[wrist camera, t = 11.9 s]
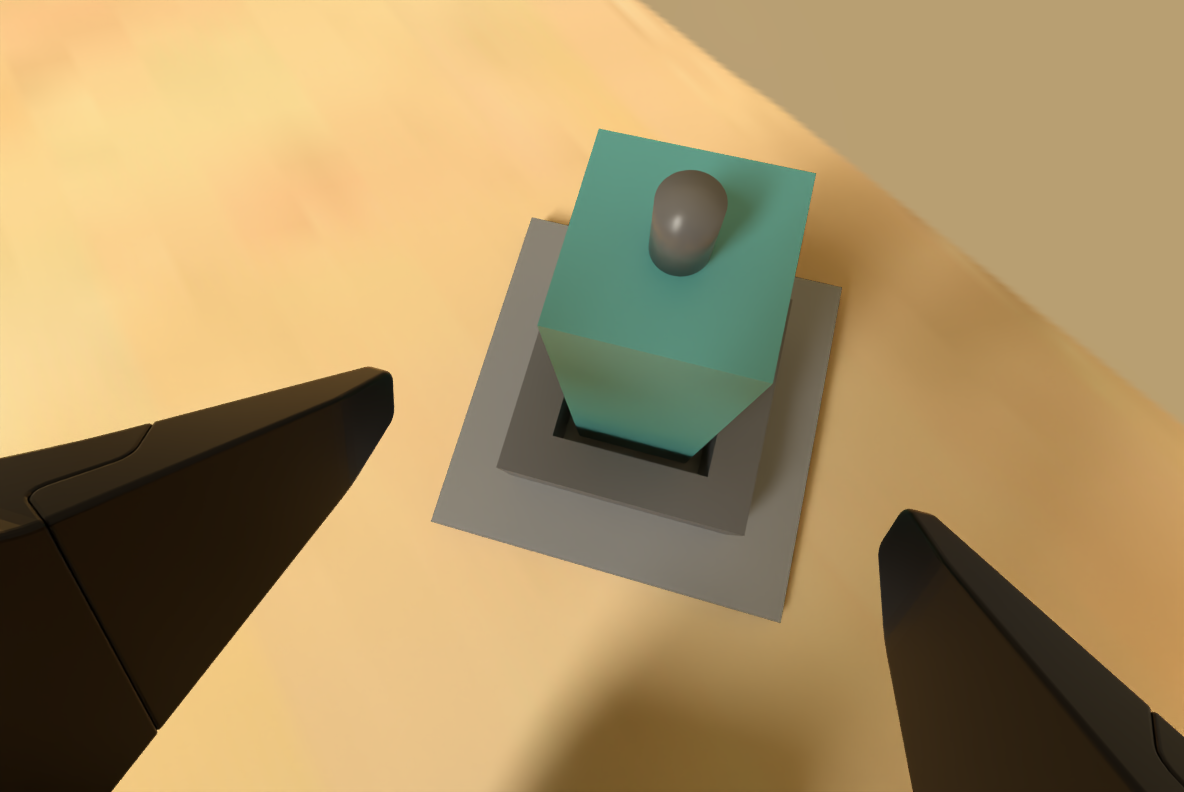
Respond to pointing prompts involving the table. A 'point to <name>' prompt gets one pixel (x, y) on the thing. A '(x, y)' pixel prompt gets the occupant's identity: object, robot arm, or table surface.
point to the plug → (672, 291)
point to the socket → (639, 462)
